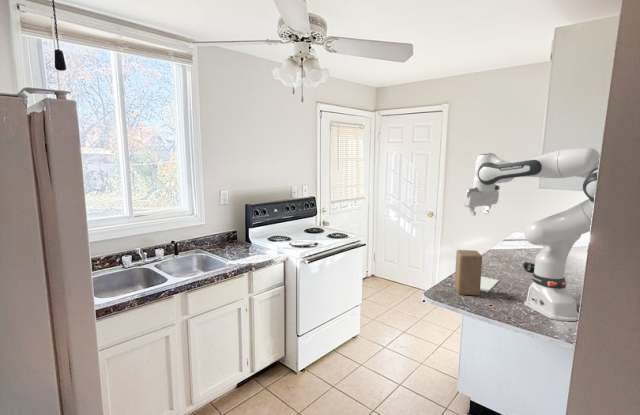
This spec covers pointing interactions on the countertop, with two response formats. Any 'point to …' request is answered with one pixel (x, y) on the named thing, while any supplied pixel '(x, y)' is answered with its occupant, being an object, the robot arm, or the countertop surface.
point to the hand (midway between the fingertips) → (479, 214)
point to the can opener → (529, 267)
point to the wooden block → (468, 272)
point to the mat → (487, 284)
